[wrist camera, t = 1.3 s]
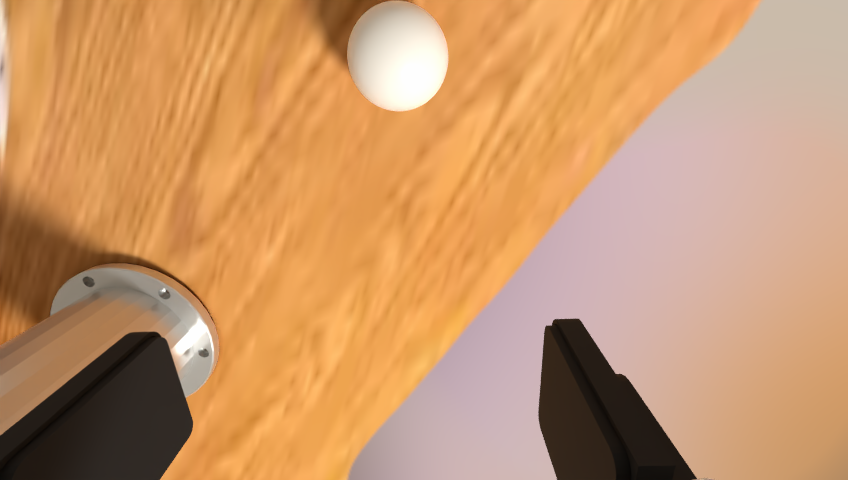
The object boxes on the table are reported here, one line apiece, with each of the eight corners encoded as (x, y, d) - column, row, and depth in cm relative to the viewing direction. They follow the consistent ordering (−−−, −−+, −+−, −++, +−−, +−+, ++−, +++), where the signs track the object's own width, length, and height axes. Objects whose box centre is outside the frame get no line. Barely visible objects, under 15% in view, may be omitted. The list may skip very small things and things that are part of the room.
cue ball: (408, 127, 26) (401, 136, 21) (339, 67, 25) (314, 62, 19) (465, 55, 24) (473, 47, 19) (394, -12, 23) (383, -40, 18)
